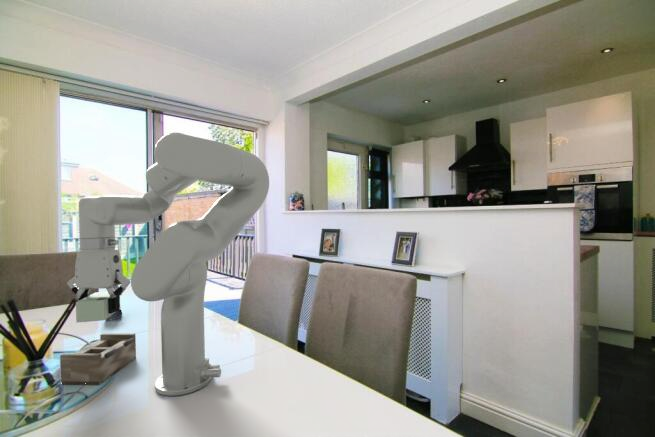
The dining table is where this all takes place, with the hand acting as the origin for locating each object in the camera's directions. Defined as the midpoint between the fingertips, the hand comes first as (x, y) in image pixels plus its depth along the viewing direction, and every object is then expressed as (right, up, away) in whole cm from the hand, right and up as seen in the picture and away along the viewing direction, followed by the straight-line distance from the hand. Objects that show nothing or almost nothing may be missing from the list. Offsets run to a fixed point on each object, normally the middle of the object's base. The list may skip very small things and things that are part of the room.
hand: (99, 311), depth 84 cm
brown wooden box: (0, -16, 0) cm, 16 cm away
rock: (-26, -16, +44) cm, 54 cm away
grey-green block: (0, -1, 0) cm, 1 cm away
